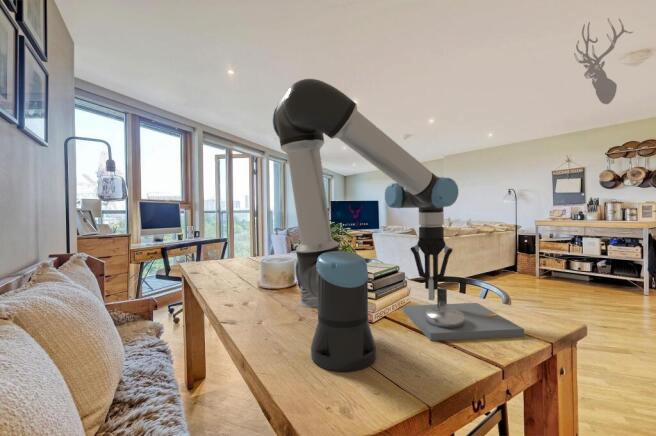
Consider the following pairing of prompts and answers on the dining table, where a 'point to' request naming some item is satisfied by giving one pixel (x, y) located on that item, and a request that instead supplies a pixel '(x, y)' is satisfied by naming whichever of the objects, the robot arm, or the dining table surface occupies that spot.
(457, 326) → the cam lever
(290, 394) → the dining table surface
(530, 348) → the dining table surface
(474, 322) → the stand
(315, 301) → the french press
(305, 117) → the robot arm
